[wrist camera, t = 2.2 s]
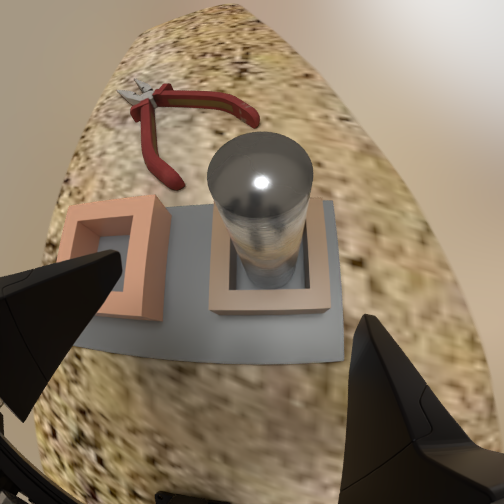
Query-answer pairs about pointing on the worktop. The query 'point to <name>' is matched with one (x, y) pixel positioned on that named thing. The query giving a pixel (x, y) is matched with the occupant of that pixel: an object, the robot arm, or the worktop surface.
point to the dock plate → (233, 299)
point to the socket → (139, 250)
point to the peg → (263, 202)
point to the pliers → (177, 98)
